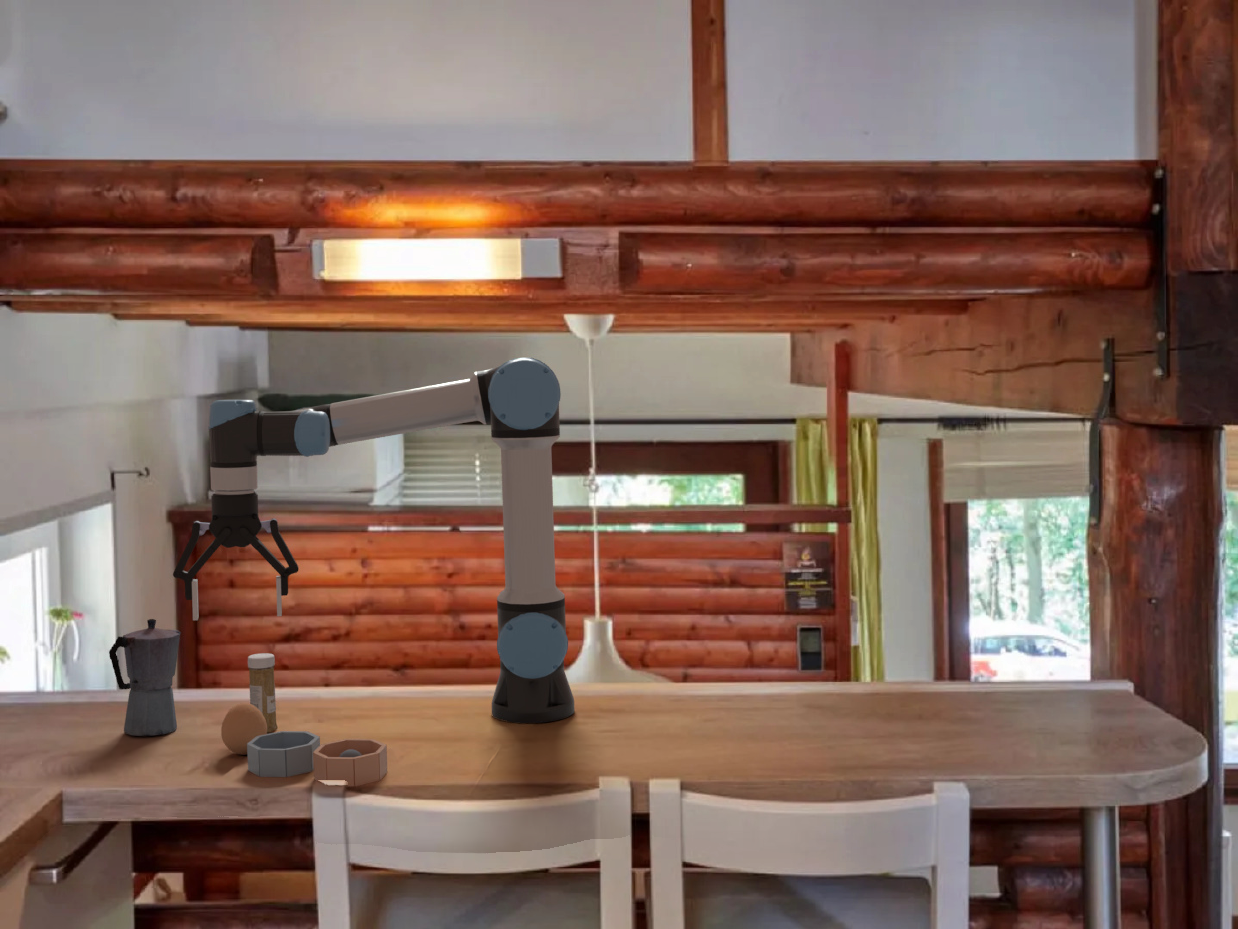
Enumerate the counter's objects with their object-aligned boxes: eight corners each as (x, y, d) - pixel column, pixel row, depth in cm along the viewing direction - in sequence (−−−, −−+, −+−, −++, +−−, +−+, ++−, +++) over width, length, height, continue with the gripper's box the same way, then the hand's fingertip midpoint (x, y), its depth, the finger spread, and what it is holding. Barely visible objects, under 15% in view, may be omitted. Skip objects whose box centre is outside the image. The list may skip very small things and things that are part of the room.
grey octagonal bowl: (327, 761, 216) (326, 731, 215) (305, 782, 205) (304, 750, 205) (264, 761, 217) (263, 730, 216) (240, 781, 206) (239, 749, 206)
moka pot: (201, 723, 240) (197, 614, 238) (138, 747, 226) (132, 630, 225) (161, 718, 244) (156, 610, 242) (96, 741, 230) (90, 626, 229)
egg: (225, 763, 216) (223, 711, 216) (219, 751, 223) (217, 701, 222) (271, 756, 219) (269, 706, 218) (264, 745, 226) (262, 695, 225)
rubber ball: (367, 771, 208) (366, 746, 207) (359, 779, 204) (359, 754, 203) (342, 771, 208) (341, 746, 208) (334, 779, 204) (333, 753, 204)
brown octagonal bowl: (392, 770, 211) (391, 739, 210) (374, 791, 200) (373, 759, 200) (329, 769, 212) (327, 738, 211) (307, 790, 201) (306, 758, 201)
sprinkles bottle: (280, 731, 234) (278, 655, 233) (255, 735, 232) (252, 659, 231) (272, 725, 238) (269, 651, 237) (247, 729, 236) (244, 654, 235)
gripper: (310, 487, 230) (313, 609, 231) (158, 491, 224) (162, 616, 225) (311, 491, 222) (314, 617, 224) (153, 496, 216) (158, 625, 218)
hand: (237, 617), depth 225 cm, fingers open, 13 cm apart
